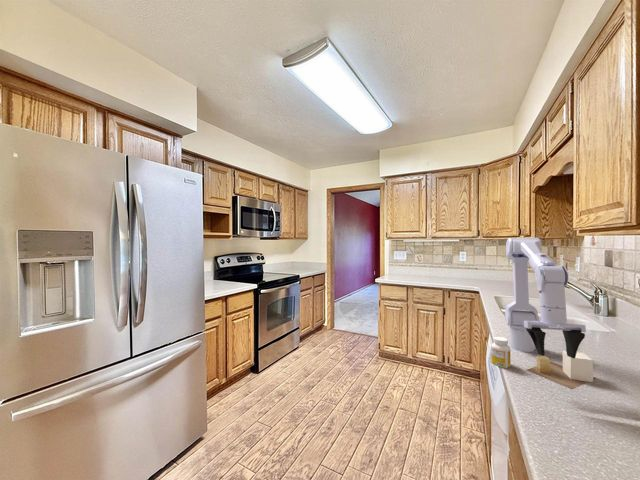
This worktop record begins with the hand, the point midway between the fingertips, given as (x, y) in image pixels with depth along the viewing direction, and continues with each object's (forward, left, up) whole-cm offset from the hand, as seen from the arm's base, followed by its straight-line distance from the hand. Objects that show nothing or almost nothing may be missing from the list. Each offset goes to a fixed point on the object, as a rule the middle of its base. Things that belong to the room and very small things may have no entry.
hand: (555, 355), depth 76 cm
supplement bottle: (-1, -16, -11) cm, 19 cm away
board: (-11, -4, -11) cm, 16 cm away
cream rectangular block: (-14, -1, -10) cm, 17 cm away
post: (-8, -7, -10) cm, 14 cm away
